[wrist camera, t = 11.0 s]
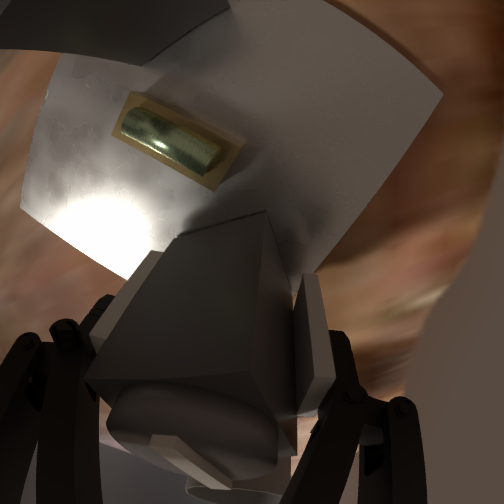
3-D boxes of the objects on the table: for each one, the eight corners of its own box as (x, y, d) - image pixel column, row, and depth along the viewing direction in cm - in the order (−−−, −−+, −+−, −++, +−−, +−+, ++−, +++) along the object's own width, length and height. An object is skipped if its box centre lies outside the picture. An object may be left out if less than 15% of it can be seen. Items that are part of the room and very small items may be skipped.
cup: (190, 387, 24) (165, 481, 16) (275, 376, 23) (270, 486, 14) (226, 428, 28) (214, 506, 19) (298, 420, 26) (298, 506, 17)
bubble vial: (125, 131, 13) (99, 138, 11) (144, 91, 12) (120, 90, 10) (220, 183, 14) (209, 198, 12) (244, 144, 13) (238, 151, 11)
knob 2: (173, 238, 16) (64, 412, 6) (266, 211, 15) (242, 424, 5) (209, 312, 18) (160, 483, 8) (292, 295, 17) (296, 488, 7)
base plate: (28, 202, 17) (19, 207, 16) (139, -53, 8) (133, -59, 7) (251, 334, 20) (249, 344, 20) (435, 94, 12) (443, 94, 11)
